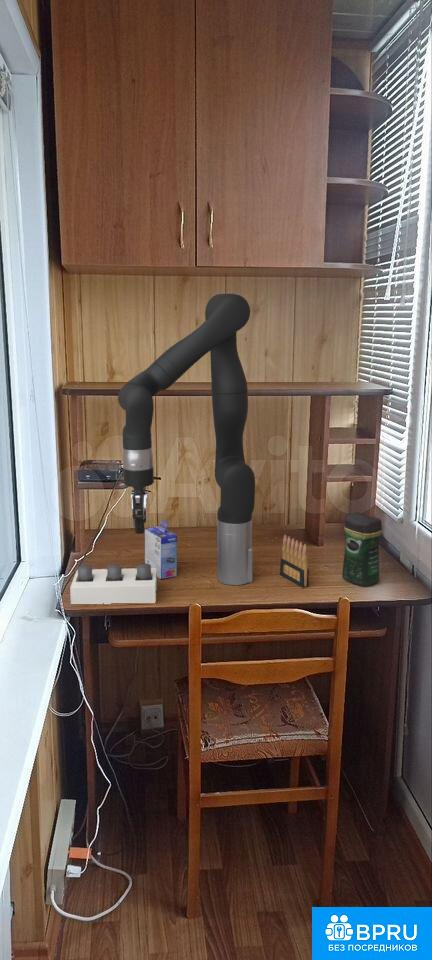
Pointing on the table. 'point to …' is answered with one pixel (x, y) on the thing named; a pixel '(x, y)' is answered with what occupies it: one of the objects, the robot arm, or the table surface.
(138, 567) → the knob
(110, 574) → the knob middle
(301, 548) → the ammunition clip
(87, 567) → the knob
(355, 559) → the coffee jar
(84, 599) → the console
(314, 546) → the table surface
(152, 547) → the ink cartridge box
